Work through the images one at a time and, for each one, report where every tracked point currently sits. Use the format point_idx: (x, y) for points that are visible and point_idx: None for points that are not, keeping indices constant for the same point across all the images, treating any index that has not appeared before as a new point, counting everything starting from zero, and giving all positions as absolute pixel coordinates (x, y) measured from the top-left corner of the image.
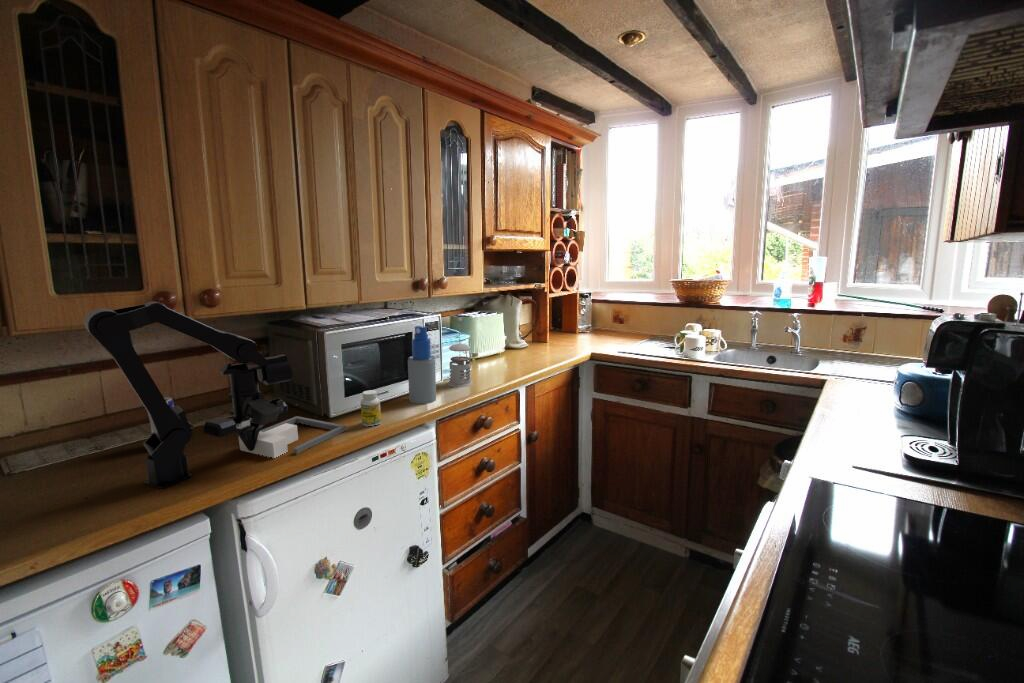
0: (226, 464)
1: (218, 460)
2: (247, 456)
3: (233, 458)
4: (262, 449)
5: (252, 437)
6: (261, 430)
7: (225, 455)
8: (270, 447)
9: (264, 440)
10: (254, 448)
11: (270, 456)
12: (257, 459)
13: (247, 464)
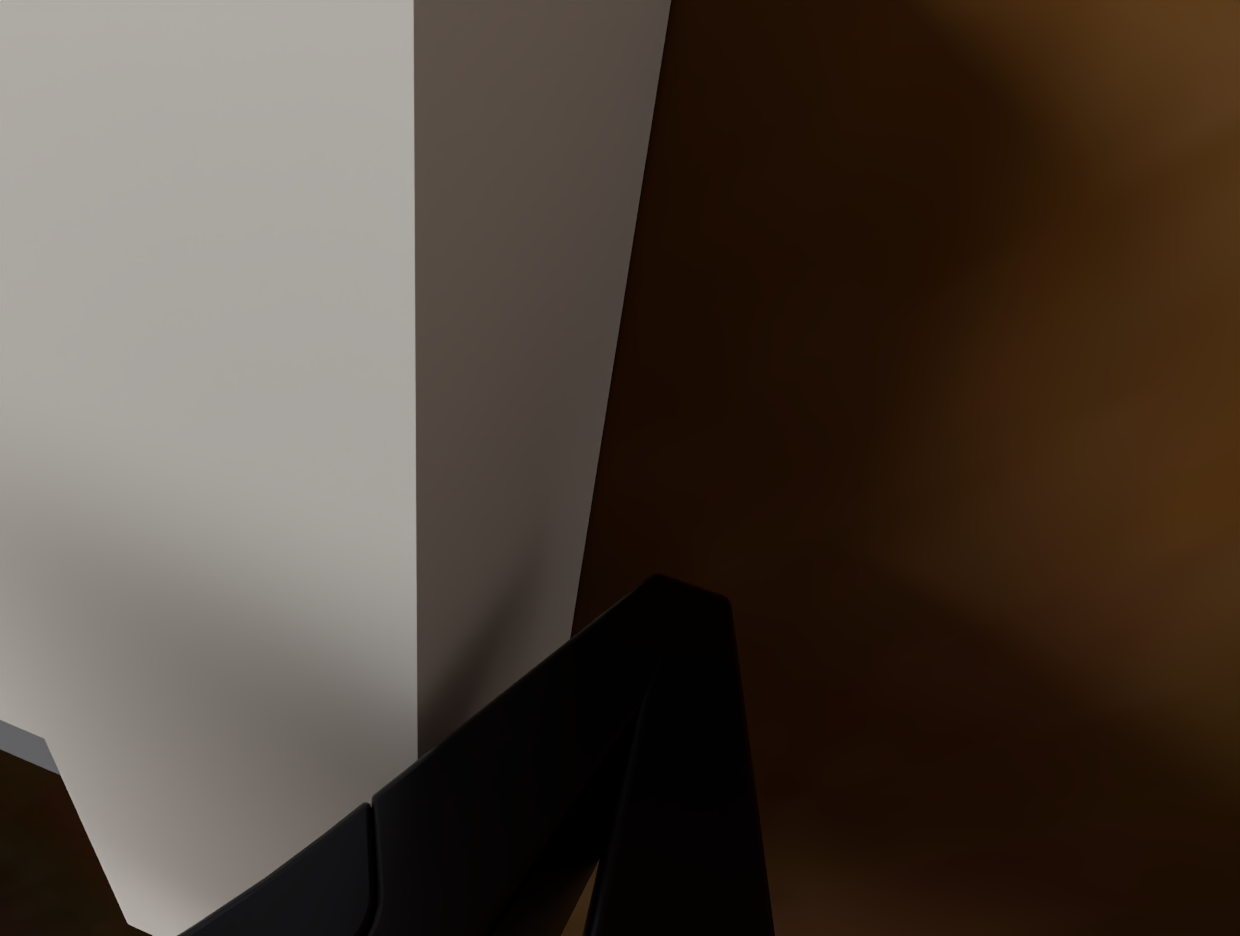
0: (1180, 781)
1: (984, 913)
2: (735, 587)
3: (870, 760)
4: (556, 386)
5: (517, 921)
6: (26, 754)
7: (777, 878)
8: (539, 32)
9: (362, 490)
10: (542, 598)
11: (662, 4)
12: (845, 308)
13: (1204, 385)
